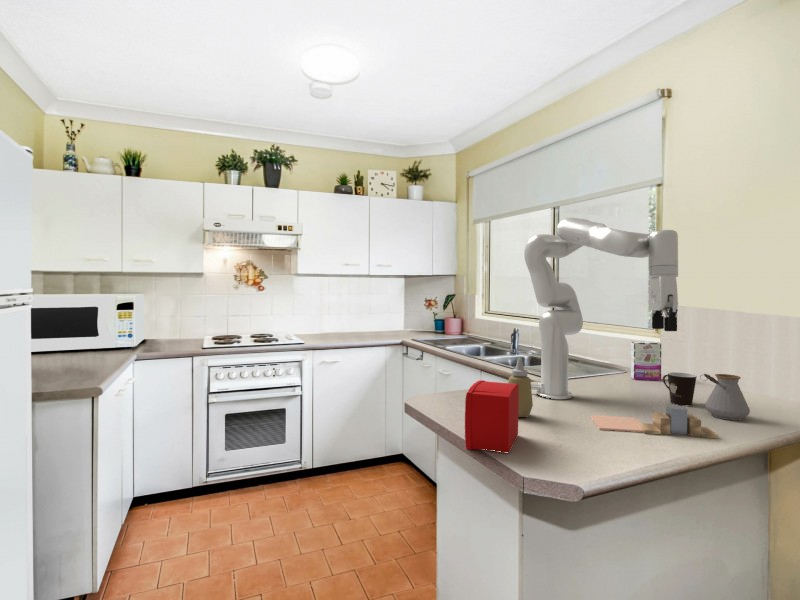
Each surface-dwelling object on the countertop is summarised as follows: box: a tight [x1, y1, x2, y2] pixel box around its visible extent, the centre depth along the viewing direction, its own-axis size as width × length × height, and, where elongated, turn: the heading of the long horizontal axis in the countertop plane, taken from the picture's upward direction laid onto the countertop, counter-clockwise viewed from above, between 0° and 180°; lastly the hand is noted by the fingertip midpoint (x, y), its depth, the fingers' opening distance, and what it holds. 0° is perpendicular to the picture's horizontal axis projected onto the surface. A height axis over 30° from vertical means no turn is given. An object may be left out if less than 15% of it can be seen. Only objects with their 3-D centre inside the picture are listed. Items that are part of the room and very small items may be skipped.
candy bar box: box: [630, 341, 662, 382], centre depth 201 cm, size 11×5×16 cm, turn 81°
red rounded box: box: [464, 380, 519, 453], centre depth 119 cm, size 16×11×15 cm
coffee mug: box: [662, 372, 697, 406], centre depth 161 cm, size 12×9×10 cm
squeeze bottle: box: [507, 357, 534, 418], centre depth 143 cm, size 8×8×18 cm
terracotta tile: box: [589, 414, 644, 433], centre depth 135 cm, size 13×13×1 cm
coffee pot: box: [699, 373, 751, 421], centre depth 141 cm, size 21×12×15 cm, turn 123°
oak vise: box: [637, 411, 719, 440], centre depth 128 cm, size 18×7×4 cm, turn 78°
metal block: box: [665, 404, 689, 436], centre depth 128 cm, size 4×4×7 cm
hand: (664, 329), depth 137 cm, fingers open, 9 cm apart
